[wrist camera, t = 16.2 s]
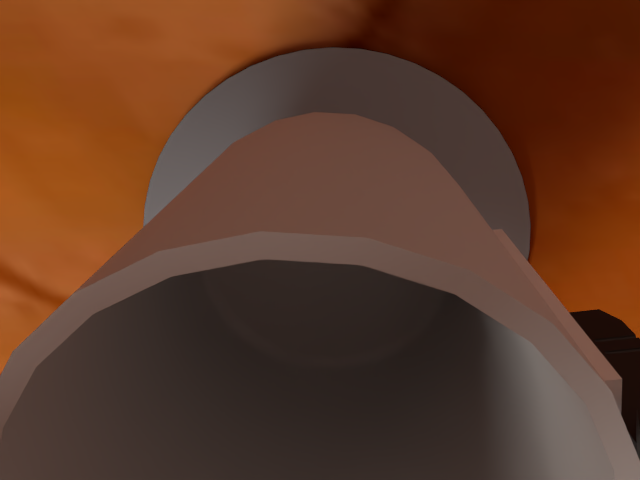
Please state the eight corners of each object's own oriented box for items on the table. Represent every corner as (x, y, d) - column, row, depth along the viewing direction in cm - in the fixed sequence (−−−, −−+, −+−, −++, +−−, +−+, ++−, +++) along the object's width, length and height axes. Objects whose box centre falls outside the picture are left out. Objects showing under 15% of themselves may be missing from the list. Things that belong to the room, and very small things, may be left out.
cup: (368, 43, 13) (407, 60, 4) (570, 364, 15) (839, 762, 7) (130, 214, 14) (-170, 463, 6) (349, 478, 17) (350, 910, 9)
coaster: (101, 82, 17) (97, 83, 16) (521, 15, 15) (524, 14, 15) (193, 421, 21) (191, 426, 20) (532, 387, 19) (534, 392, 19)
